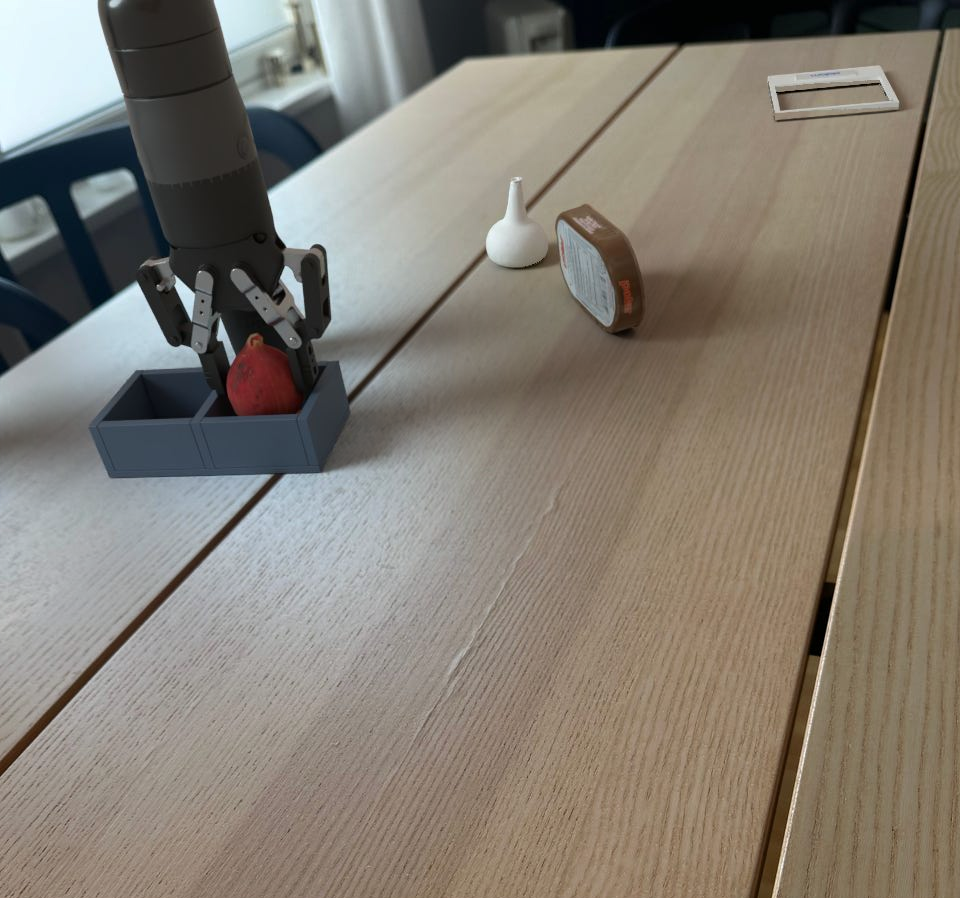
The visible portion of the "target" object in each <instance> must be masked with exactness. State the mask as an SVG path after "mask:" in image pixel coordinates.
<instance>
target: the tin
mask: <svg viewBox="0 0 960 898" xmlns="http://www.w3.org/2000/svg"><path fill="white" fill-rule="evenodd" d="M554 231H555V235H556V242H557V250H558V256H559V268H560V272H561V274H562V278H563V281H564V283H565V285H566V288H567V290H568V292H569V294H570V295H571V297H572V299H573V300H574V299H575V300H576V301H577V302H578V303H579V304H580V305H579V304H578V303H577V302H576V301H575V300H574V301H575V302H576V303H577V304H578V305H579V306H580V307H581V306H582V307H583V308H582V307H581V308H582V309H583V310H584V312H586V313H587V314H588V315H589V314H590V315H589V317H591V316H592V317H593V318H594V319H595V320H596V321H597V322H598V323H599V324H600V325H601V326H602V327H603V328H604V329H605V330H606V331H607V332H606V331H605V330H604V331H605V332H606V333H608V332H609V333H608V334H615V333H619V332H623V331H625V330H628V329H631V328H633V327H634V328H633V329H635V327H636V328H638V327H640V326H641V325H642V323H643V320H644V316H645V309H646V301H645V300H646V294H645V287H644V286H645V285H644V281H643V276H642V271H641V268H640V264H639V260H638V258H637V255H636V253H635V251H634V248H633V246H632V245H631V242H630V240H629V238H628V237H627V235H626V234H625V233H624V232H623V231H622V230H621V229H620V228H619V227H617V226H616V225H615V224H614V223H612V222H611V221H610V220H609V219H608V218H606V217H605V216H604V215H603V214H601V213H600V212H599V211H598V210H596V209H595V207H593V206H592V205H591V204H589V203H583V204H581V205H580V206H578V207H573V208H570V209H567V210H565V211H562V212H560V213H559V214H558V215H557V217H556V219H555V223H554ZM592 317H591V318H592ZM593 318H592V319H593ZM594 319H593V320H594ZM595 320H594V321H595ZM596 321H595V322H596ZM597 322H596V323H597Z"/></svg>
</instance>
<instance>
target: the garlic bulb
mask: <svg viewBox="0 0 960 898" xmlns="http://www.w3.org/2000/svg"><path fill="white" fill-rule="evenodd" d="M522 181H523V177H521V176H514V177H513V176H512V177H511V178H510V182H509V185H510V186H509V193H508V200H507V207H506V211H505V215H504V217H503V218H502V219H500V220H498V221H497V222H495V223H494V224H493V225H492V226H491V228H490V229H489V231H488V233H487V235H486V240H485V241H486V242H485V249H486V253H487V256H488V258H489V260H491V262H492V263H494V264H496V265H499V266H501V267H506V268H525V266H526V267H530V266H533V265H532V264H534V265H536V264H538V263H540V262H542V261H543V260H544V259H545V258H546V257H547V254H548V250H549V237H548V234H547V232H546V230H545V228H544V227H543V226H542V225H541V223H540V222H538V221H537V220H535V219H534V218H532V217H529V216H528V213H527V208H526V203H525V198H524V197H525V196H524V191H523V184H522V183H523V182H522ZM543 258H544V259H543ZM542 259H543V260H542ZM541 260H542V261H541ZM539 261H540V262H539ZM537 262H538V263H537ZM535 263H536V264H535ZM529 265H530V266H529Z"/></svg>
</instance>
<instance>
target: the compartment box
mask: <svg viewBox="0 0 960 898" xmlns="http://www.w3.org/2000/svg"><path fill="white" fill-rule="evenodd" d="M316 362H317V366H318V370H319V371H318V377H317V379H316V380H315V382H314V384H313V385H312V387H311V389H310V391H309V392H308V393H305V394H304V399H303V403H302V407H301V408H300V409H299V411H298V412H297V414H284V415H258V416H238V415H237V414H236V413H235V411H234V408H233V406H232V404H231V402H230V400H229V397H218V395H217V393H216V390H212V389H211V388H210V387H209V385H208V384H207V381H206V377H205V375H204V372H203V368H202V366H198V367H177V368H176V367H175V368H173V367H172V368H155V369H136V370H134V372H133V373H132V374H131V376H130V377H129V378H128V379H127V380H126V381H125V382H124V384H123V385H122V386H121V387H120V388H119V390H117V392H116V393H115V394H114V395H113V396H112V397H111V399H110V400H109V401H108V402H107V403H106V404H105V406H104V407H103V408H102V409H101V411H100V412H99V413H98V414H97V415H96V417H94V419H93V420H92V421H90V422H91V423H89V424H88V426H87V429H88V431H89V433H90V436H91V437H92V439H93V443H94V445H95V447H96V449H97V452H98V454H99V456H100V459H101V461H102V464H103V466H104V468H105V471H106V473H107V476H108V478H110V479H114V478H115V479H116V478H119V479H121V478H153V477H154V478H156V477H195V476H199V477H200V476H233V475H236V476H238V475H239V476H240V475H270V474H273V475H274V474H313V473H322V472H323V469H324V468H325V465H326V464H327V461H328V459H329V457H330V455H331V453H332V451H333V449H334V446H335V444H336V443H337V440H338V438H339V437H340V435H341V433H342V430H343V428H344V426H345V424H346V422H347V420H348V419H349V416H350V414H351V407H350V404H349V400H348V396H347V390H346V387H345V381H344V377H343V374H342V369H341V365H340V360H323V361H320V360H319V361H316ZM230 367H231V365H230Z"/></svg>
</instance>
